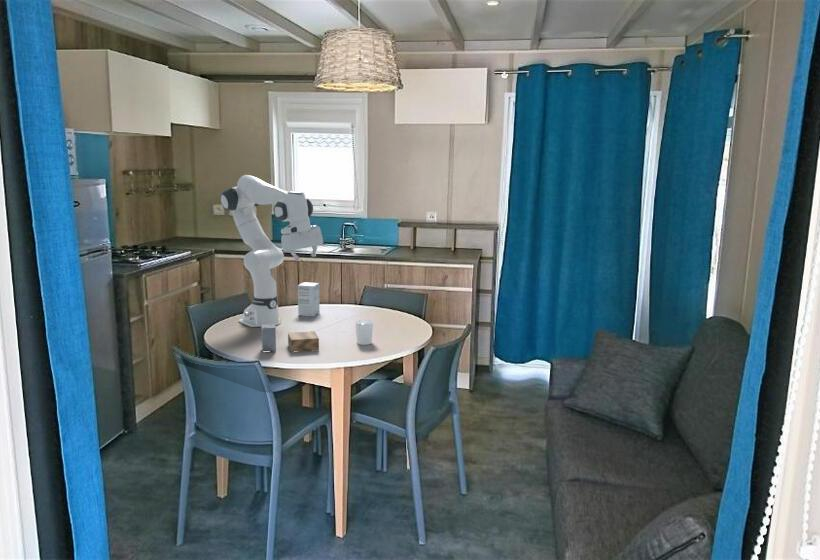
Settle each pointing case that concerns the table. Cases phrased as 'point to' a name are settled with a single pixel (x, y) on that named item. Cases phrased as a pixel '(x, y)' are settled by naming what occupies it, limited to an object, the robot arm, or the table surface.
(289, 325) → the table surface
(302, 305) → the supplement box
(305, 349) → the walnut block
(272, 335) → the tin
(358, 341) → the white cup
